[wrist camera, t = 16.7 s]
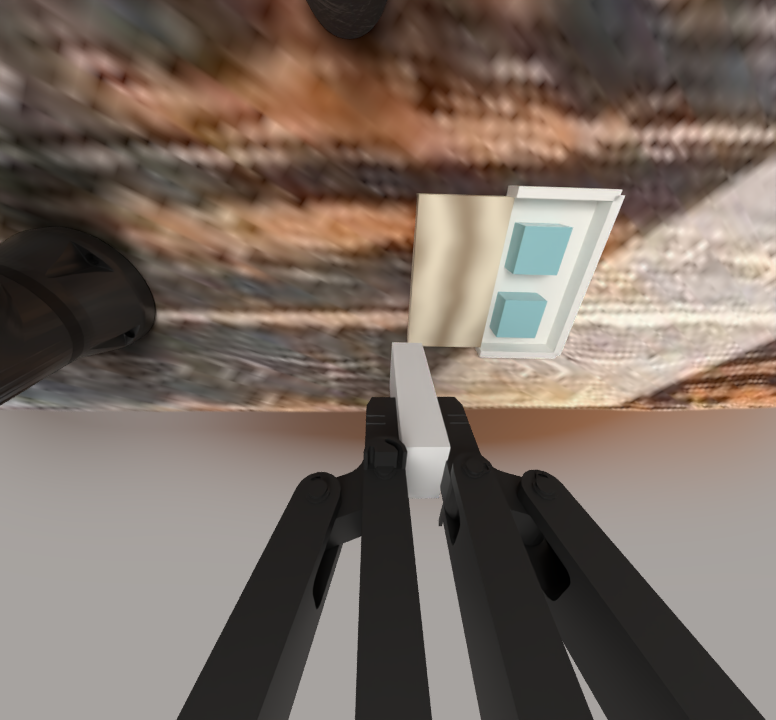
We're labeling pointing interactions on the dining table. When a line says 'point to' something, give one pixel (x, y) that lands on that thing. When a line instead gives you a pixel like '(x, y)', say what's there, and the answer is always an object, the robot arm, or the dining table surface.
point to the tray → (566, 289)
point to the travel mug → (348, 16)
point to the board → (455, 266)
